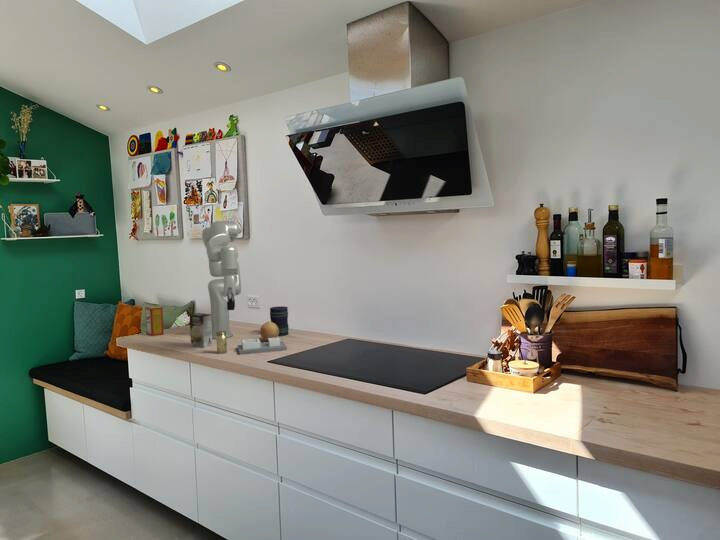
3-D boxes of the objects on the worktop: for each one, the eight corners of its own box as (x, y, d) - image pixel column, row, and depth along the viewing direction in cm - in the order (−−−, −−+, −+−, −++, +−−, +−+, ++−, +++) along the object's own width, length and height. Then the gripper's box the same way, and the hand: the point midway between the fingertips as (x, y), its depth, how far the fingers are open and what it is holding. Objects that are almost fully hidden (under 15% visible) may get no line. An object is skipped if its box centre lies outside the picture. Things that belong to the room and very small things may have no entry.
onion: (275, 342, 257) (274, 323, 257) (257, 342, 259) (256, 323, 259) (282, 338, 267) (281, 320, 266) (264, 338, 269) (263, 320, 268)
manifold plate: (237, 348, 248) (237, 339, 247) (282, 344, 254) (282, 335, 254) (239, 354, 234) (238, 344, 234) (286, 350, 241) (286, 340, 240)
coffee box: (190, 346, 254) (188, 315, 253) (199, 343, 260) (197, 313, 259) (204, 347, 250) (202, 315, 249) (213, 345, 256) (211, 313, 255)
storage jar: (292, 333, 280) (291, 307, 279) (280, 337, 272) (279, 309, 270) (278, 332, 285) (277, 306, 284) (266, 335, 277) (265, 308, 276)
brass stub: (217, 352, 240) (216, 331, 240) (226, 351, 242) (225, 330, 241) (217, 354, 236) (216, 333, 235) (227, 353, 237) (226, 332, 237)
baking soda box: (163, 334, 288) (162, 306, 287) (152, 336, 284) (150, 308, 283) (158, 332, 296) (156, 305, 294) (146, 333, 291) (145, 306, 290)
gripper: (222, 272, 246) (223, 306, 247) (220, 274, 229) (222, 311, 230) (238, 271, 248) (239, 306, 249) (237, 273, 231) (239, 310, 232)
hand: (231, 308), depth 239 cm, fingers open, 9 cm apart
